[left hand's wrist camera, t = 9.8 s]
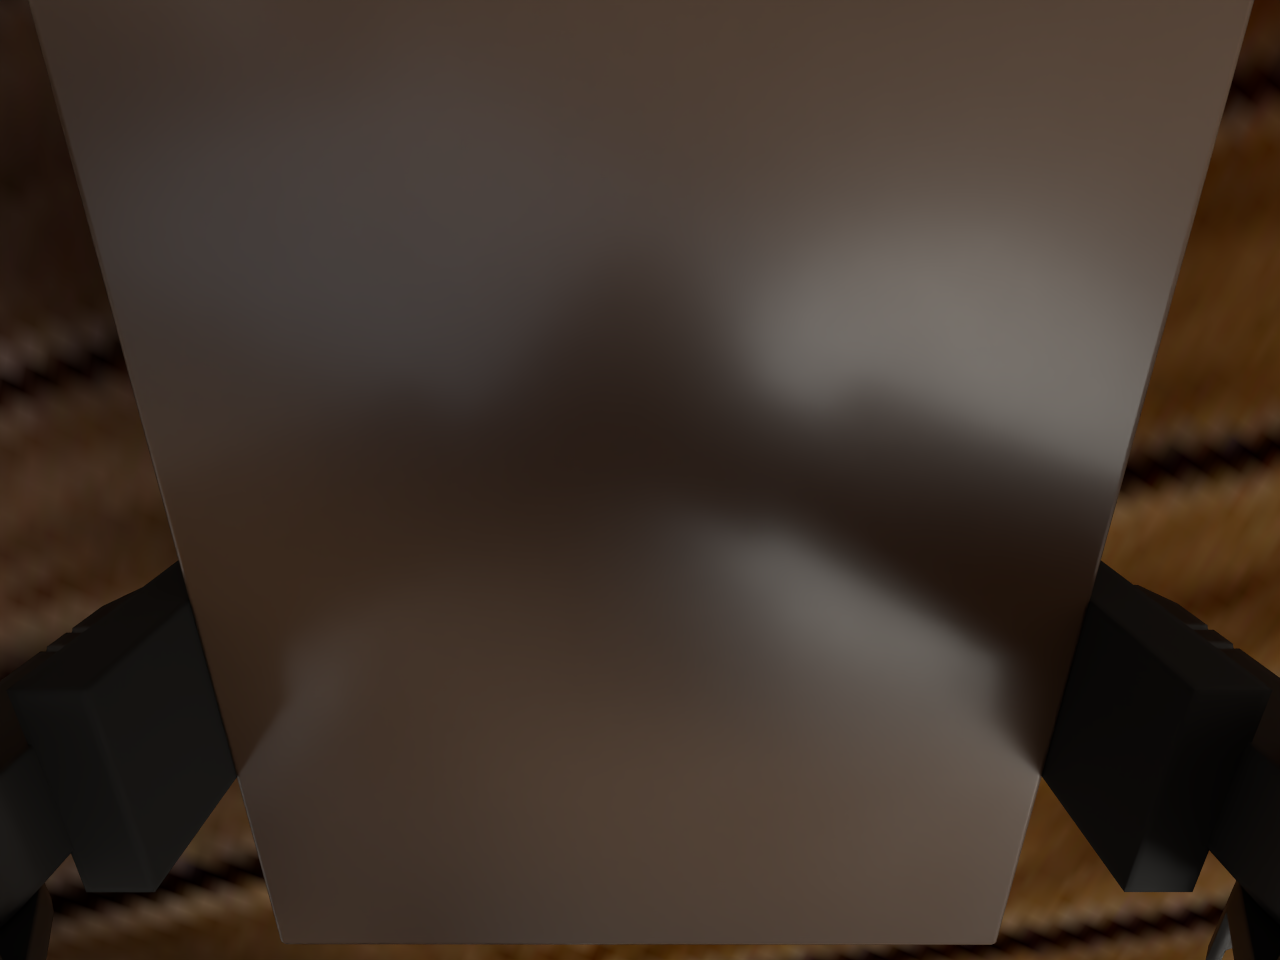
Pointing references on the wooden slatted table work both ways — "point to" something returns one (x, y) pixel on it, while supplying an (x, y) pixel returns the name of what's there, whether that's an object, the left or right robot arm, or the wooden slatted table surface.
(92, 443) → the wooden slatted table surface
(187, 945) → the wooden slatted table surface
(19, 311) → the wooden slatted table surface
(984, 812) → the cabinet
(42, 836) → the left robot arm
